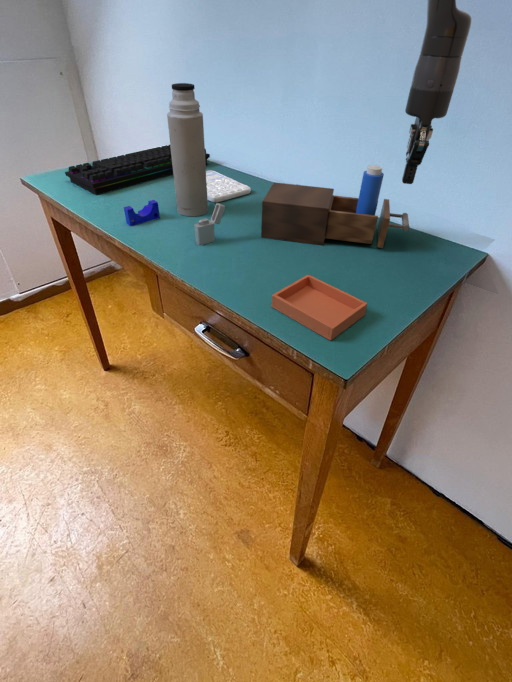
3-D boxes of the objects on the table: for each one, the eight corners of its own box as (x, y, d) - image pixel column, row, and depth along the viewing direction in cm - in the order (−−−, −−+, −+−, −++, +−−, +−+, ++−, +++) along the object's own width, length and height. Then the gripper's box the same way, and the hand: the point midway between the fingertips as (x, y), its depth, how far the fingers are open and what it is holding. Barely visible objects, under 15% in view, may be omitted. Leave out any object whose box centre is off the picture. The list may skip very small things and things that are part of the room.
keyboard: (180, 154, 141) (178, 139, 138) (210, 164, 133) (210, 148, 130) (66, 181, 117) (62, 163, 114) (95, 196, 109) (91, 177, 106)
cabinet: (328, 223, 99) (334, 188, 94) (323, 245, 90) (328, 208, 84) (272, 216, 102) (273, 182, 96) (261, 237, 92) (262, 201, 87)
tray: (364, 315, 70) (367, 303, 68) (330, 341, 64) (332, 328, 63) (306, 285, 77) (308, 274, 75) (271, 306, 71) (271, 294, 70)
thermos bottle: (171, 212, 102) (155, 84, 84) (190, 202, 108) (179, 80, 90) (195, 219, 99) (185, 88, 81) (214, 208, 105) (208, 83, 86)
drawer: (402, 229, 96) (410, 201, 91) (404, 251, 87) (413, 221, 83) (327, 220, 98) (331, 193, 94) (322, 240, 90) (326, 211, 86)
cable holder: (153, 213, 101) (150, 197, 99) (159, 218, 99) (157, 202, 97) (124, 221, 97) (120, 205, 95) (130, 226, 95) (127, 209, 93)
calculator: (214, 204, 107) (213, 197, 106) (175, 183, 119) (175, 176, 117) (252, 193, 114) (252, 186, 112) (212, 174, 125) (212, 168, 124)
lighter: (199, 245, 89) (196, 210, 83) (195, 242, 90) (192, 208, 84) (226, 238, 92) (225, 204, 87) (222, 235, 93) (221, 201, 88)
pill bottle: (371, 227, 93) (385, 165, 84) (370, 235, 90) (385, 171, 81) (353, 225, 94) (365, 163, 85) (352, 232, 91) (364, 169, 82)
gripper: (459, 92, 67) (428, 195, 78) (449, 82, 77) (423, 174, 88) (413, 89, 68) (389, 191, 79) (409, 79, 78) (388, 171, 89)
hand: (407, 182), depth 83 cm, fingers closed
